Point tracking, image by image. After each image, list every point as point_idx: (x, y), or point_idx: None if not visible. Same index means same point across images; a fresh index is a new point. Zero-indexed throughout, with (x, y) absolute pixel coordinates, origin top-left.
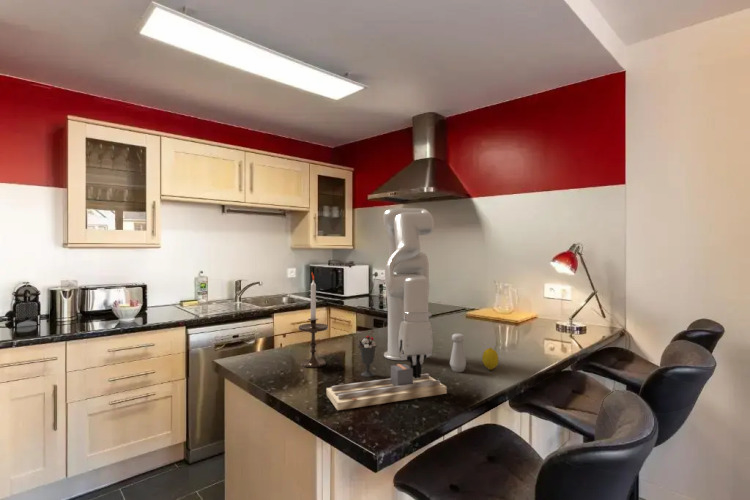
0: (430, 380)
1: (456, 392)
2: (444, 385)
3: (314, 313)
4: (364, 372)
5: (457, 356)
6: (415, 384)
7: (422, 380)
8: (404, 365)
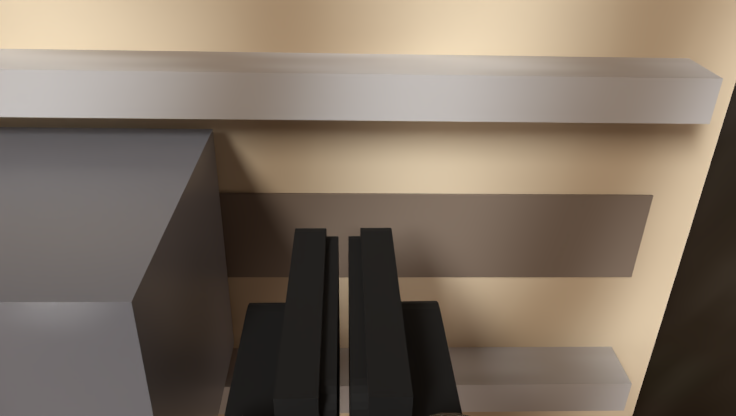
0: (609, 214)
1: (706, 386)
2: (635, 401)
3: None
4: None
5: None
6: None
7: (506, 163)
8: (71, 377)
